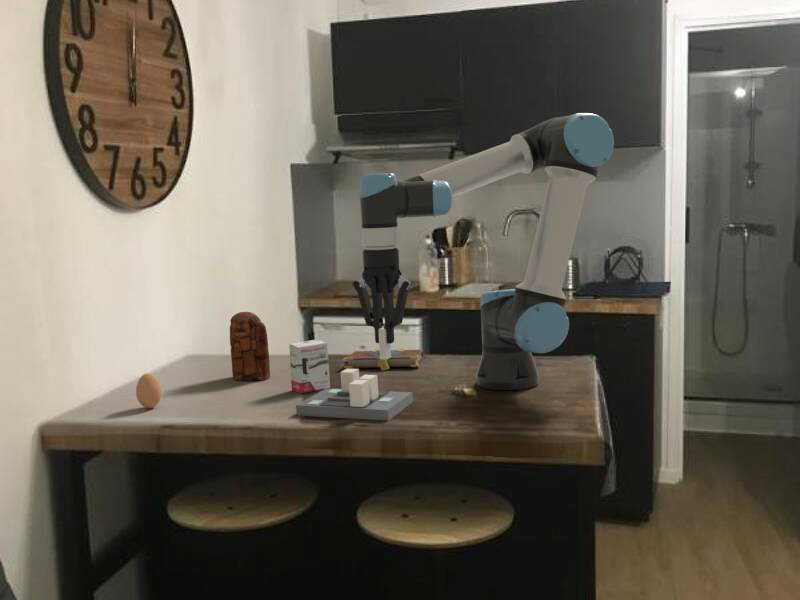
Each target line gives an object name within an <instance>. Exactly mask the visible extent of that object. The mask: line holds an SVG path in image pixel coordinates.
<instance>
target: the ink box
mask: <svg viewBox="0 0 800 600" xmlns="http://www.w3.org/2000/svg"><path fill="white" fill-rule="evenodd" d="M288 347H289V360H290V361H289V362H290V381H291V382H290V383H291V391H294V392H297V393H299V394H304V393H311V392H314V391H315V392H316V391H322V390H324V389H326V388H327V389H331V388H330V387H331V384H330V383H331V381H330V380H331V379H330V364H329V352H328V350H329V349H328V342H325V341H323V340H320V339H312V340H311V339H310V340H306V341H301V342H294V343H290V344H289V346H288Z"/></svg>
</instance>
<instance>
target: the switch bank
mask: <svg viewBox="0 0 800 600" xmlns="http://www.w3.org/2000/svg"><path fill="white" fill-rule="evenodd" d="M378 395H379V397H377V398H376V399H370V403H368V404H367V405H365V406H364V407H354V406H350V392H342V388H326V389H321V390H320V391H319V392H317V393H315V394H314V395H312V396H310V397H309V398H307V399H305V400H303V401H301V402H298V403H297V404H296V405H295V411H296V416H302V417H307V416H308V417H321V418H322V417H323V418H337V419H354V420H355V419H356V420H371V421H384V422H385V421H390V420H391V419H392V418H394V417H396V416H397V415H398V414H399V413H400V412H402V411H403V410H404V409H406V408H407V407H409V406H410V405H411V404H413V403H414V398H413V397H414V396H413V395H414V393H413V392H412V391H390V390H378Z"/></svg>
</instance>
